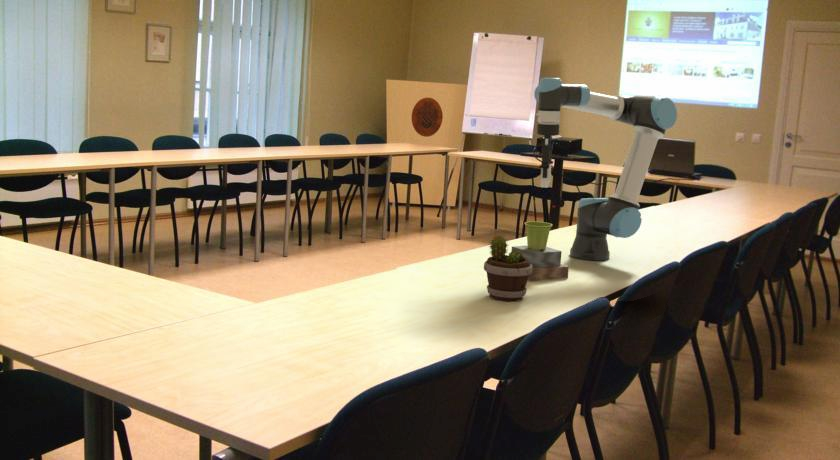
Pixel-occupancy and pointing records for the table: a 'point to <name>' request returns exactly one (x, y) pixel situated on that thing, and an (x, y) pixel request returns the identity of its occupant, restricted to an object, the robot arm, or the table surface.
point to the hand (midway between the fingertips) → (545, 185)
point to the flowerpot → (506, 272)
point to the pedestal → (544, 263)
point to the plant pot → (537, 234)
